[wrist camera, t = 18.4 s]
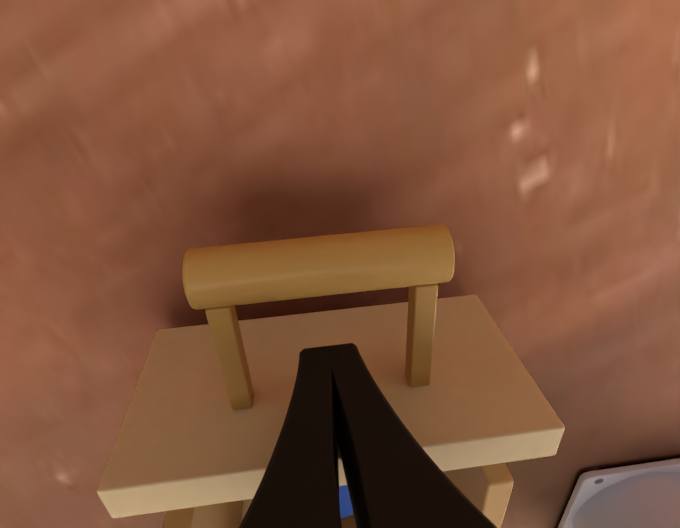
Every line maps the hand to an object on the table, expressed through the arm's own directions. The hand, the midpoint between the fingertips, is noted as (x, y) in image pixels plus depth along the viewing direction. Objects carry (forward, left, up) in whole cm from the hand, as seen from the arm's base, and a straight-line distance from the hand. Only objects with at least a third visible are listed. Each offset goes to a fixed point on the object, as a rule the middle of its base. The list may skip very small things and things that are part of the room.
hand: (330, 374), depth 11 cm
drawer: (0, +5, -4) cm, 7 cm away
